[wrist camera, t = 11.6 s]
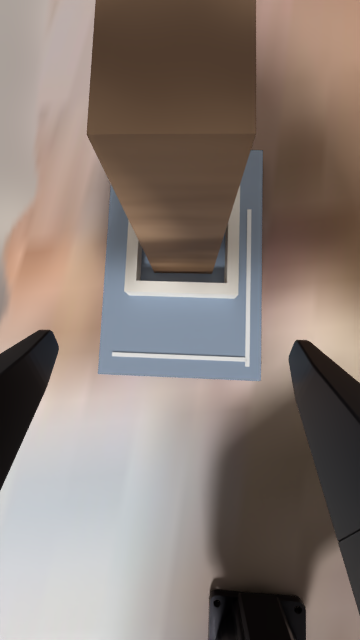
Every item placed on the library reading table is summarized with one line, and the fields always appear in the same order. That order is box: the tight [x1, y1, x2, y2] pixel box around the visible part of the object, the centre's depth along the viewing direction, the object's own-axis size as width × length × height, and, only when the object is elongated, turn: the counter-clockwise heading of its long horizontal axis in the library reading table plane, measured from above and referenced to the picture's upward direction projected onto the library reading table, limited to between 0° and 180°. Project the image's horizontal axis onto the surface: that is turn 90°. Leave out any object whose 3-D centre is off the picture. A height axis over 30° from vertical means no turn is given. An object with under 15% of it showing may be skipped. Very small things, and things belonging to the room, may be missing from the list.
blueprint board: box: [98, 150, 263, 381], centre depth 19 cm, size 18×12×2 cm, turn 178°
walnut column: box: [87, 0, 256, 274], centre depth 13 cm, size 4×4×13 cm
